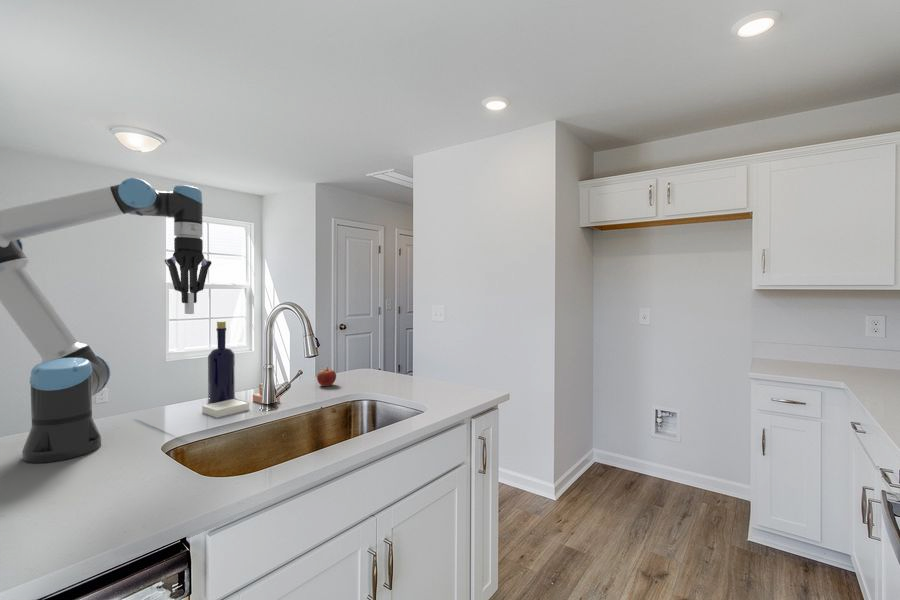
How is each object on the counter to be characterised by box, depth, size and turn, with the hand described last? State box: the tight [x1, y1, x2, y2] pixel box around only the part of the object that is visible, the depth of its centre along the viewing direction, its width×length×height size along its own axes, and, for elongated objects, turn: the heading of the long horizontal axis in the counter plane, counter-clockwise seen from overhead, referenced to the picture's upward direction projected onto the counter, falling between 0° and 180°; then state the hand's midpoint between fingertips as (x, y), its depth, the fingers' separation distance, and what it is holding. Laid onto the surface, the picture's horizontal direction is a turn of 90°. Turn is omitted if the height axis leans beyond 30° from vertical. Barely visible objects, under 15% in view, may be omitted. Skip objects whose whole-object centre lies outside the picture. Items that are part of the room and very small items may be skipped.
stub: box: [252, 383, 281, 405], centre depth 157 cm, size 5×9×6 cm, turn 55°
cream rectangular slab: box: [201, 397, 250, 418], centre depth 145 cm, size 11×9×2 cm
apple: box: [316, 367, 337, 387], centre depth 188 cm, size 8×8×8 cm
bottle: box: [207, 320, 236, 404], centre depth 158 cm, size 9×9×30 cm
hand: (189, 313), depth 134 cm, fingers closed
